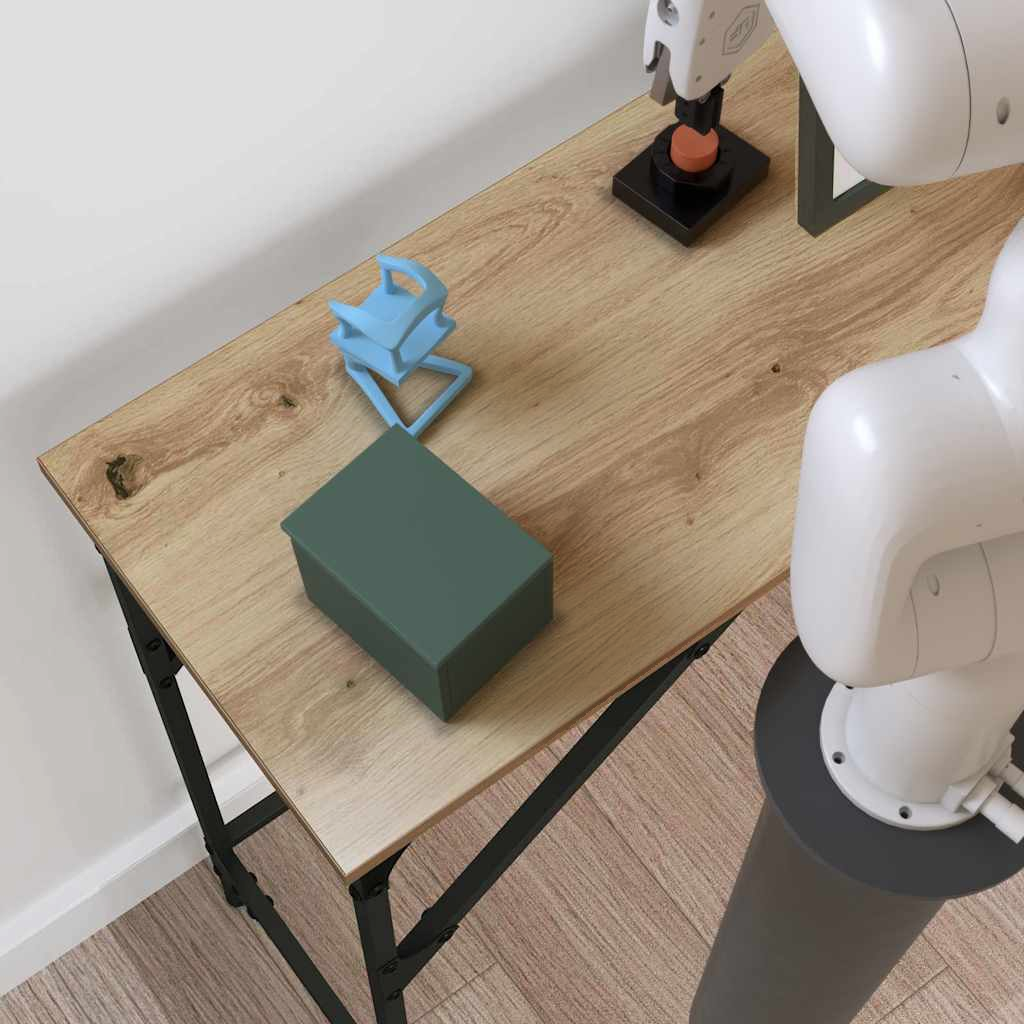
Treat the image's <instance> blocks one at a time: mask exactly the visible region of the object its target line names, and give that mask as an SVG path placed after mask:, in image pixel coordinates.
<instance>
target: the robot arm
mask: <svg viewBox="0 0 1024 1024" xmlns="http://www.w3.org/2000/svg"><path fill="white" fill-rule="evenodd" d="M775 27H777V30H778V32H779V34H780V36H781V38H782V40H783V42H784V44H785V46H786V49H787V50H788V52H789V55H790V56H791V58H792V60H793V63H794V65H795V66H796V69H797V71H798V73H799V75H800V77H801V79H802V82H803V83H804V85H805V87H806V90H807V92H808V94H809V96H810V98H811V101H812V103H813V106H814V107H815V109H816V112H817V114H818V116H819V118H820V120H821V122H822V125H823V126H824V128H825V131H826V133H827V134H828V137H829V138H830V140H831V142H832V144H833V146H834V147H835V148H836V150H837V151H838V153H839V154H840V156H841V157H842V158H843V160H844V161H845V162H846V163H847V164H848V165H849V167H850V168H851V169H853V170H854V171H855V172H856V173H857V174H858V175H859V176H861V177H863V178H864V179H866V180H867V181H869V182H873V183H875V184H879V185H882V186H889V187H916V186H924V185H930V184H936V183H940V182H941V183H942V182H944V181H947V180H951V179H955V178H961V177H964V176H970V175H973V174H977V173H983V172H987V171H991V170H995V169H999V168H1004V167H1009V166H1013V165H1017V164H1022V163H1024V0H649V3H648V10H647V16H646V22H645V29H644V39H643V67H644V71H645V73H646V74H653V73H654V75H653V81H652V84H651V88H650V92H649V98H650V99H651V100H653V101H654V102H655V103H657V104H658V105H660V106H661V107H666V106H668V105H669V104H671V103H673V102H674V101H675V104H674V113H673V114H674V116H675V118H676V119H677V120H678V121H679V120H680V122H681V123H683V124H684V125H686V126H687V127H690V128H692V129H694V130H695V131H696V132H698V133H699V134H701V135H702V136H706V135H707V134H708V133H709V132H710V131H711V128H715V127H716V126H717V125H719V124H721V117H722V110H723V101H724V95H725V88H723V87H724V86H725V85H726V84H728V82H729V81H730V79H731V77H732V73H733V72H734V71H735V70H736V69H738V67H740V66H741V65H742V64H743V63H745V62H746V61H747V60H749V58H751V56H753V55H754V54H755V53H756V52H757V51H758V50H759V49H761V48H762V47H763V46H764V45H765V43H767V42H768V40H769V39H770V38H771V36H772V35H773V34H774V30H775ZM994 262H995V263H994V264H993V267H992V270H991V274H990V278H989V282H988V287H987V292H986V298H985V303H984V307H983V309H982V313H981V316H980V318H979V321H978V323H977V325H976V327H975V328H974V329H973V330H971V331H970V332H968V333H966V334H964V335H963V336H960V337H959V338H956V339H954V340H951V341H949V342H946V343H944V344H943V343H942V344H939V345H936V346H932V347H928V348H924V349H920V350H916V351H912V352H907V353H904V354H900V355H896V356H892V357H888V358H885V359H881V360H878V361H873V362H871V363H867V364H865V365H862V366H858V367H856V368H854V369H851V370H850V371H847V372H846V373H844V374H842V375H841V376H839V377H838V378H836V379H835V380H834V381H832V382H831V383H830V384H829V385H828V386H827V387H826V388H825V389H824V390H823V391H822V393H821V394H820V395H819V397H818V398H817V400H816V401H815V402H814V405H813V407H812V409H811V411H810V413H809V416H808V419H807V423H806V427H805V433H804V434H805V435H804V439H803V445H802V453H801V462H800V470H799V471H800V472H799V480H798V487H797V488H798V490H797V498H796V505H795V506H796V507H795V515H794V517H795V518H794V523H793V524H794V526H793V532H792V533H793V534H792V542H791V553H790V565H789V586H790V589H789V590H790V591H789V592H790V600H791V608H792V614H793V619H794V623H795V627H796V630H797V631H796V632H797V635H799V637H800V639H801V642H802V644H803V646H804V648H805V650H806V652H807V654H808V655H809V657H810V658H811V660H812V661H813V662H814V664H815V665H816V666H817V667H818V668H819V669H820V670H821V671H822V672H823V673H824V674H826V675H827V676H828V677H830V678H831V679H833V680H835V681H837V682H836V684H835V685H834V686H833V688H832V690H831V692H830V694H829V696H828V698H827V700H826V702H825V705H824V708H823V711H822V715H821V721H820V728H819V730H820V746H821V750H822V754H823V758H824V762H825V764H826V766H827V768H828V771H829V773H830V775H831V777H832V779H833V780H834V782H835V783H836V784H837V786H838V787H839V789H840V790H841V791H842V793H843V794H844V795H845V796H846V797H847V798H848V799H849V800H850V801H851V802H852V803H853V804H854V805H855V806H857V807H858V808H860V809H861V810H863V811H864V812H865V813H867V814H868V815H870V816H871V817H873V818H876V819H878V820H880V821H882V822H884V823H886V824H888V825H892V826H896V827H900V828H903V829H908V830H920V831H929V830H940V829H945V828H949V827H952V826H955V825H959V824H961V823H963V822H965V821H967V820H968V819H970V818H972V817H974V816H976V815H977V814H978V813H979V812H980V813H981V814H983V815H984V816H985V817H986V818H988V819H989V820H990V821H991V822H993V823H994V824H995V826H996V827H997V828H998V829H999V830H1001V831H1002V832H1003V833H1004V834H1006V835H1007V836H1008V837H1009V838H1010V839H1012V840H1013V841H1014V842H1015V843H1017V844H1018V843H1019V841H1020V840H1021V839H1022V838H1023V837H1024V811H1023V810H1022V809H1021V808H1019V807H1018V806H1017V805H1016V804H1012V803H1011V802H1010V801H1008V800H1007V799H1006V798H1005V797H1003V796H1002V795H1001V794H999V793H998V791H999V789H1000V787H1001V786H1002V784H1003V782H1005V783H1007V784H1008V785H1009V786H1010V787H1012V790H1014V791H1015V792H1016V793H1018V794H1019V795H1020V796H1021V797H1023V798H1024V773H1023V772H1022V771H1021V770H1020V769H1018V768H1017V767H1016V766H1014V765H1013V764H1012V763H1011V760H1012V758H1011V744H1012V742H1013V741H1014V739H1015V737H1014V736H1013V735H1012V734H1011V733H1010V729H1011V728H1012V726H1013V725H1014V723H1015V722H1016V720H1017V719H1018V717H1019V716H1020V714H1021V713H1022V711H1023V710H1024V215H1023V216H1021V218H1020V220H1019V221H1018V222H1017V223H1016V225H1015V227H1014V228H1013V230H1012V231H1011V233H1010V234H1009V236H1008V237H1007V239H1006V241H1005V242H1004V244H1003V246H1002V247H1001V250H1000V252H999V254H998V255H997V258H996V259H995V261H994ZM846 686H851V687H852V689H848V688H846ZM835 759H838V760H840V762H841V764H837V763H835V762H834V760H835ZM900 814H906V816H907V819H904V818H902V817H901V816H900Z"/></svg>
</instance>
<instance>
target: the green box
mask: <svg viewBox="0 0 1024 1024" xmlns="http://www.w3.org/2000/svg"><path fill="white" fill-rule="evenodd" d="M290 543H291V546H292V550H293V553H294V556H295V561H296V564H297V567H298V570H299V574H300V577H301V581H302V584H303V587H304V591H305V595H306V597H307V599H308V600H309V601H310V602H311V603H312V604H313V605H314V606H315V607H316V608H317V609H319V610H320V611H321V612H322V613H323V614H324V615H325V616H326V617H327V618H328V619H330V620H331V621H332V622H333V623H334V624H335V625H336V626H337V627H339V628H340V629H341V630H342V631H343V632H344V634H346V635H347V636H348V637H350V638H351V639H352V640H353V641H354V642H355V643H356V644H357V645H358V646H359V647H361V649H363V650H364V651H365V652H366V653H367V654H368V655H370V657H371V658H372V659H374V660H375V661H376V662H377V663H378V664H379V665H380V666H381V667H382V668H384V669H385V670H386V671H387V672H388V673H389V674H390V675H391V676H392V677H393V678H395V680H397V681H398V682H399V683H400V684H401V685H402V686H403V687H404V688H405V689H407V691H409V692H410V693H411V694H412V695H413V696H414V697H416V698H417V699H418V700H419V701H420V702H421V703H422V704H423V705H424V706H425V707H426V708H427V709H429V710H430V711H431V712H432V713H433V714H435V716H437V718H438V719H440V720H441V721H442V722H443V723H444V724H446V723H447V722H449V720H450V719H452V717H454V716H455V715H456V714H457V713H458V711H460V710H461V708H463V707H464V706H465V705H466V704H467V703H468V702H469V701H470V700H471V699H472V698H473V697H474V696H475V695H476V694H477V693H478V692H479V691H480V690H481V689H483V687H484V686H486V685H487V684H488V683H489V682H490V681H491V680H492V679H493V678H494V677H495V676H496V675H497V674H498V673H499V672H500V671H501V670H502V669H503V668H504V667H505V666H506V665H507V664H508V663H509V662H510V661H512V659H513V658H515V657H516V656H517V655H518V654H519V653H520V652H521V651H522V650H523V649H524V648H525V647H526V646H527V645H528V644H529V643H530V642H531V641H532V640H533V639H534V638H535V637H536V636H537V635H539V634H540V632H542V631H543V629H544V628H545V627H547V626H548V625H549V624H550V622H551V621H553V620H554V560H553V561H552V562H551V563H550V564H549V565H548V566H546V567H545V568H544V569H543V570H542V571H541V572H540V573H539V574H538V575H537V576H536V577H535V578H534V579H533V580H532V581H531V582H530V583H529V584H528V585H526V586H525V587H524V588H523V589H522V590H521V591H520V592H519V593H518V594H517V595H516V596H515V597H514V598H513V599H512V600H511V601H510V602H509V603H508V604H506V605H505V606H504V607H503V608H502V609H501V610H500V611H499V612H498V613H497V614H496V615H495V616H494V617H493V618H492V619H491V620H490V621H489V622H487V623H486V624H485V625H484V626H483V627H482V628H481V629H480V630H479V631H478V632H477V633H476V634H475V635H474V636H473V637H472V638H471V639H470V640H469V641H467V642H466V643H465V644H464V645H463V646H462V647H461V648H460V649H459V650H458V651H457V652H456V653H455V654H454V655H453V656H452V657H451V658H450V659H448V660H447V661H446V662H445V663H444V664H443V665H442V666H441V667H440V668H439V669H438V670H437V669H435V668H434V667H433V666H432V665H431V664H430V663H429V662H428V661H426V660H425V659H424V658H423V657H422V656H421V655H420V654H419V653H418V652H417V651H415V650H414V649H413V648H412V647H411V646H410V645H409V644H408V643H407V642H405V641H404V640H403V639H402V638H401V637H400V636H399V635H398V634H397V633H396V632H394V631H393V630H392V629H391V628H390V627H389V626H388V625H387V624H386V623H385V622H383V621H382V620H381V619H380V618H379V617H378V616H377V615H376V614H375V613H373V612H372V611H371V610H370V609H369V608H368V607H367V606H366V605H365V604H364V603H362V602H361V601H360V600H359V599H358V598H357V597H356V596H355V595H354V594H352V593H351V592H350V591H349V590H348V589H347V588H346V587H345V586H344V585H343V584H341V583H340V582H339V581H338V580H337V579H336V578H335V577H334V576H333V575H331V574H330V573H329V572H328V571H327V570H326V569H325V568H324V567H323V566H322V565H320V564H319V563H318V562H317V561H316V560H315V559H314V558H313V557H312V556H310V555H309V554H308V553H307V552H306V551H305V550H304V549H303V548H302V547H301V546H299V545H298V544H297V543H296V542H295V541H294V540H293V539H292V538H291V537H290Z"/></svg>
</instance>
